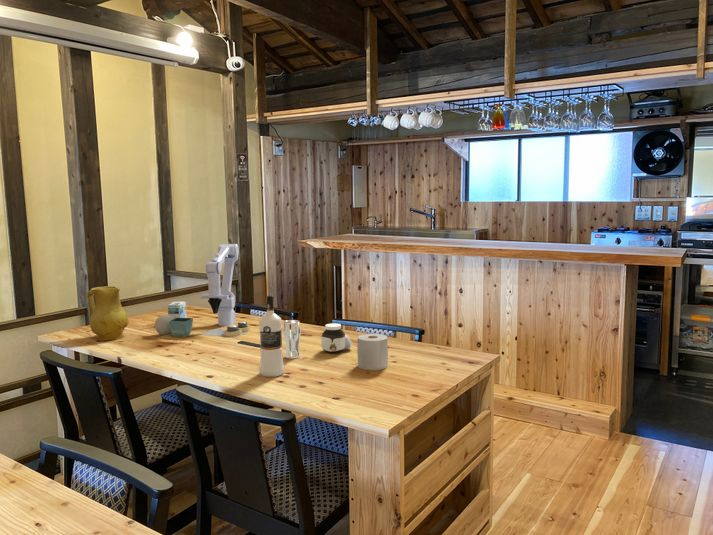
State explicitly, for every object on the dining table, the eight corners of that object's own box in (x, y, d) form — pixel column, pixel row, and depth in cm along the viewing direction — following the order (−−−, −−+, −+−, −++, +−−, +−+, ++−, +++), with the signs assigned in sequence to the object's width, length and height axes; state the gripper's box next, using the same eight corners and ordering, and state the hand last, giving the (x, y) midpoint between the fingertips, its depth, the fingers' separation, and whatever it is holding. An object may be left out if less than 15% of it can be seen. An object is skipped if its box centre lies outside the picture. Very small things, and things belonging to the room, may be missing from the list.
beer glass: (287, 359, 236) (286, 324, 234) (281, 355, 242) (280, 320, 240) (303, 357, 239) (302, 322, 237) (297, 353, 245) (296, 319, 243)
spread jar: (319, 352, 246) (318, 326, 245) (329, 346, 257) (329, 320, 255) (345, 355, 242) (345, 328, 241) (354, 348, 253) (354, 322, 251)
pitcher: (97, 343, 265) (94, 289, 264) (85, 338, 279) (82, 287, 278) (134, 338, 276) (132, 286, 275) (121, 333, 290) (118, 284, 289)
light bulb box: (181, 324, 304) (180, 304, 303) (168, 324, 305) (167, 304, 303) (187, 320, 315) (186, 301, 314) (174, 320, 315) (173, 301, 314)
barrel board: (217, 329, 292) (217, 319, 291) (253, 331, 286) (252, 321, 285) (199, 337, 276) (199, 326, 276) (237, 339, 270) (236, 328, 270)
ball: (168, 338, 276) (167, 317, 274) (150, 336, 279) (149, 316, 278) (180, 333, 285) (179, 313, 284) (163, 331, 288) (162, 312, 287)
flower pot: (194, 335, 280) (193, 317, 279) (187, 340, 271) (186, 321, 270) (176, 335, 281) (175, 317, 280) (169, 339, 272) (168, 321, 271)
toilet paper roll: (358, 361, 232) (357, 333, 231) (387, 361, 232) (387, 333, 231) (357, 370, 220) (356, 341, 219) (388, 370, 220) (388, 340, 219)
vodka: (288, 371, 220) (286, 294, 216) (276, 378, 211) (274, 298, 208) (267, 369, 223) (265, 293, 220) (255, 376, 215) (252, 297, 211)
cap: (229, 332, 279) (229, 324, 279) (239, 332, 278) (239, 324, 278) (225, 335, 274) (225, 327, 274) (235, 335, 274) (235, 327, 273)
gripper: (197, 286, 280) (198, 314, 282) (223, 287, 276) (224, 315, 278) (204, 284, 287) (206, 311, 289) (230, 285, 283) (231, 312, 284)
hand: (215, 313), depth 284 cm, fingers closed
